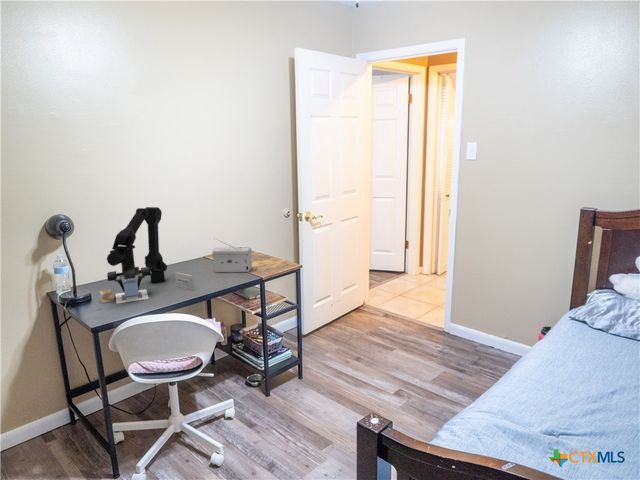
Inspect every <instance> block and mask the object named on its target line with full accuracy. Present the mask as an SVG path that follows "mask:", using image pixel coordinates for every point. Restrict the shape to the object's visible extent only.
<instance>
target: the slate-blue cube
mask: <svg viewBox="0 0 640 480" xmlns="http://www.w3.org/2000/svg"><path fill="white" fill-rule="evenodd" d="M122 282H123V286H124V292H123V293H125V296H131V295H137V294H139V292H138V284H137V278H133V279H132V278H131V279H124V280H122Z"/></svg>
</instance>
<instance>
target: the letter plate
mask: <svg viewBox="0 0 640 480" xmlns="http://www.w3.org/2000/svg"><path fill="white" fill-rule="evenodd" d="M138 292H139V294H137V295H131V296H125V292H120V293H119V292H118V293H115V302H116V304H124V303H127V302H128V303H129V302H135V301H141V300H148V299H149V295H148V292H147V289H146V288H145V289H139V290H138Z"/></svg>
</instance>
